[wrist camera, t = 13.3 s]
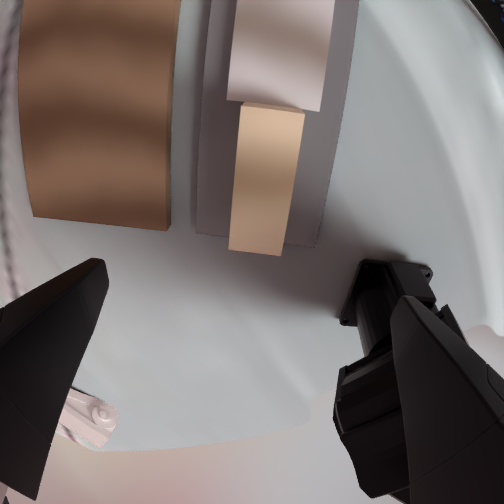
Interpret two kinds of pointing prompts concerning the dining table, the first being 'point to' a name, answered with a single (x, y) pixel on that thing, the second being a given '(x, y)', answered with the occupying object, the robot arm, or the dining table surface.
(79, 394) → the wall bracket
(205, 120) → the slate rest
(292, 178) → the two-tone block
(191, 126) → the dining table surface
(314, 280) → the dining table surface
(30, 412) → the robot arm
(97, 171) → the walnut board
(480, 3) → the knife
